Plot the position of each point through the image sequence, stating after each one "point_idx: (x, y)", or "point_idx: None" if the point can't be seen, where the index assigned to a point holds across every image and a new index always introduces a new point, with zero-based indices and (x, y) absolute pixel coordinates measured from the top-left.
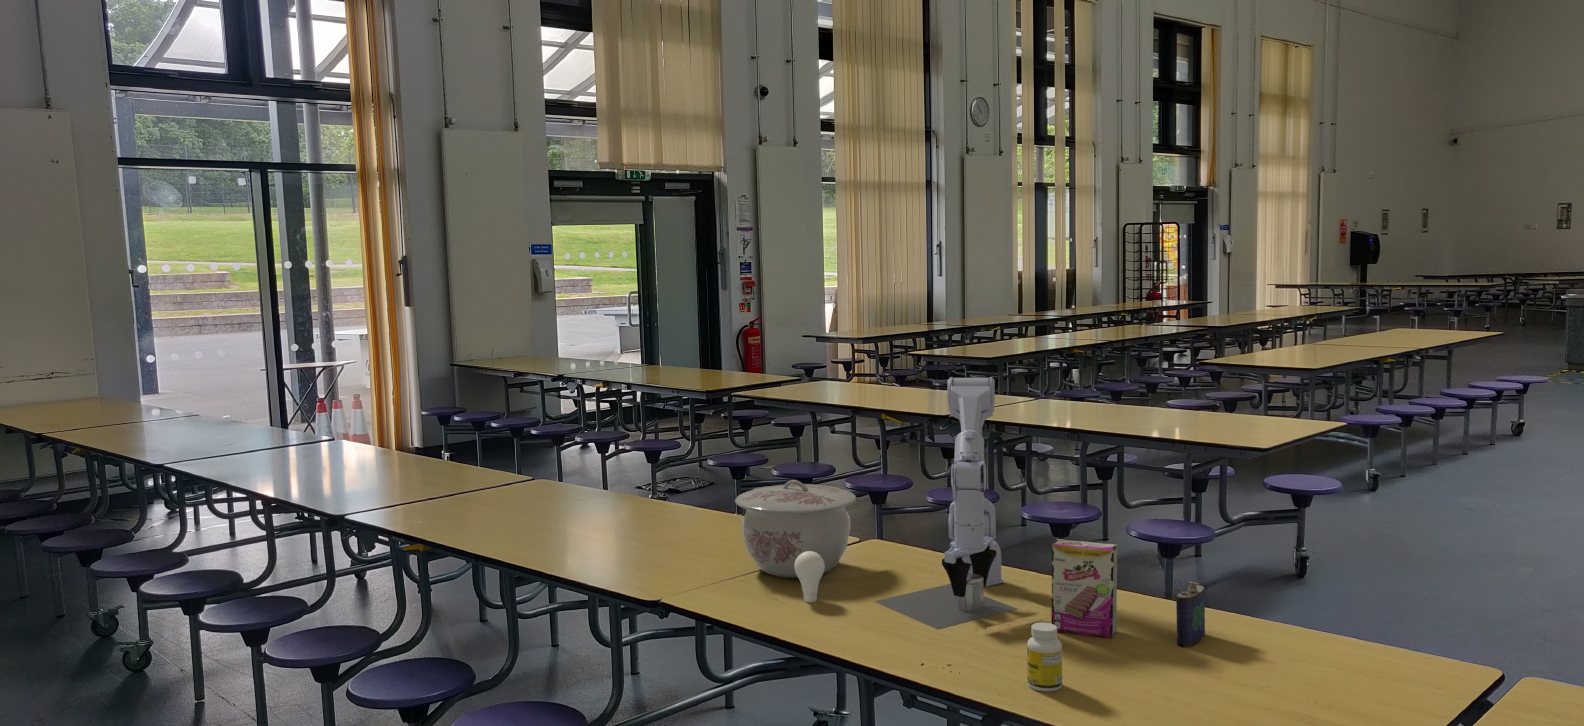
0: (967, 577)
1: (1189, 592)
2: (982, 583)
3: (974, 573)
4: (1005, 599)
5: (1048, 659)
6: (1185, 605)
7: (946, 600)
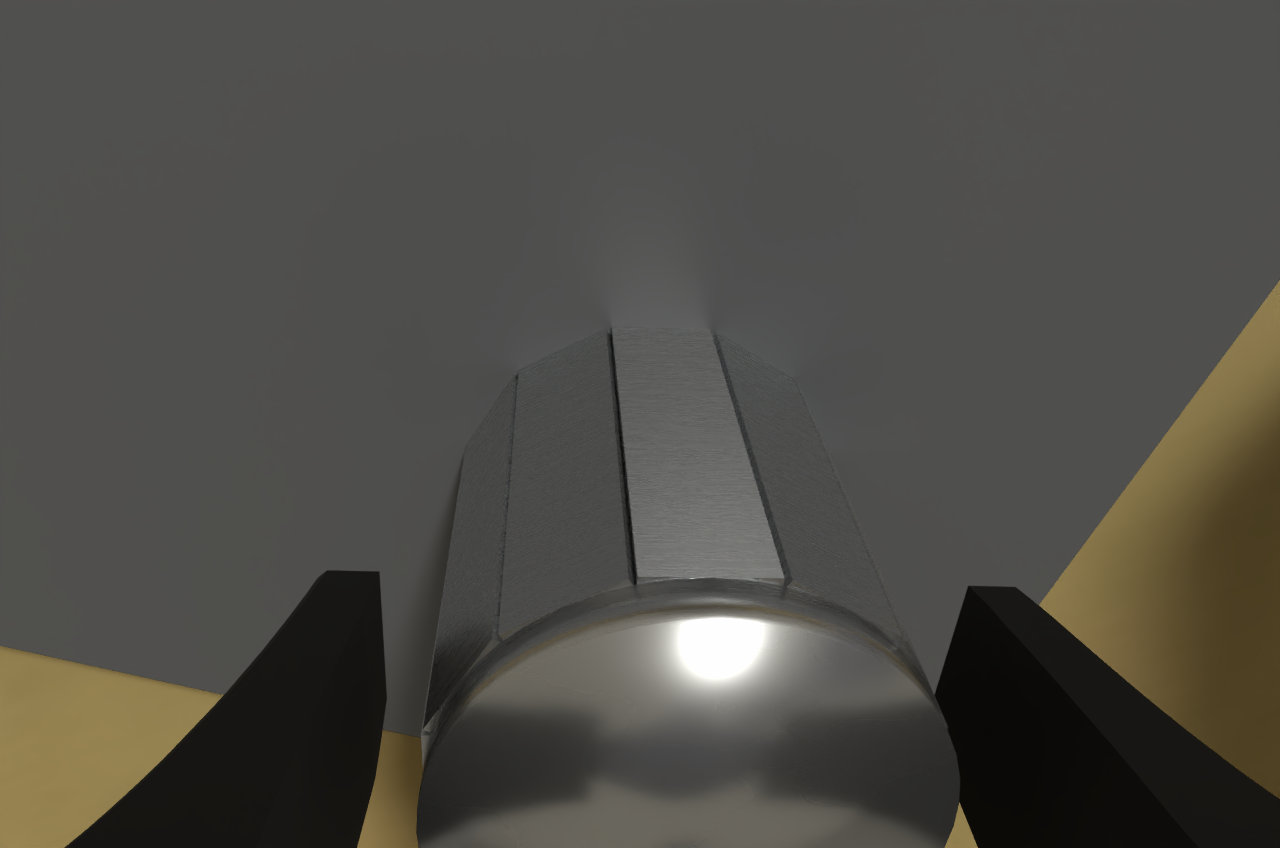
0: (670, 808)
1: None
2: None
3: (1062, 728)
4: (1267, 545)
5: None
6: None
7: (760, 91)
